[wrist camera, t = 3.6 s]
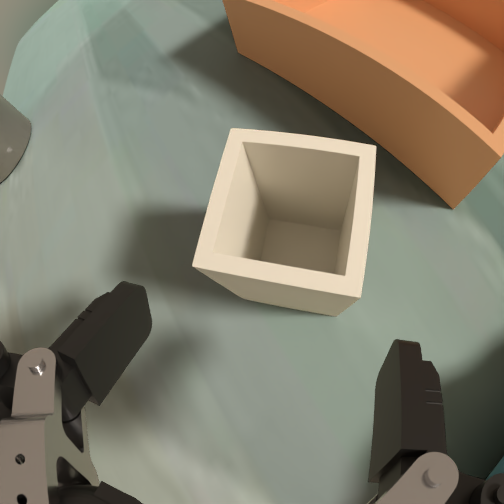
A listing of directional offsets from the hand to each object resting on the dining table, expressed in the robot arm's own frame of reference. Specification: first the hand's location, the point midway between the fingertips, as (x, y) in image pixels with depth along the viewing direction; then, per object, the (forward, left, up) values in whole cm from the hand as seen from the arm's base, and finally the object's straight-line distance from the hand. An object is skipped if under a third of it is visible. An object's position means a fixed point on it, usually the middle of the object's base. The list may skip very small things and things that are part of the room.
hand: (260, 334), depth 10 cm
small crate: (-3, +4, -9) cm, 10 cm away
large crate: (-9, +25, -9) cm, 28 cm away
